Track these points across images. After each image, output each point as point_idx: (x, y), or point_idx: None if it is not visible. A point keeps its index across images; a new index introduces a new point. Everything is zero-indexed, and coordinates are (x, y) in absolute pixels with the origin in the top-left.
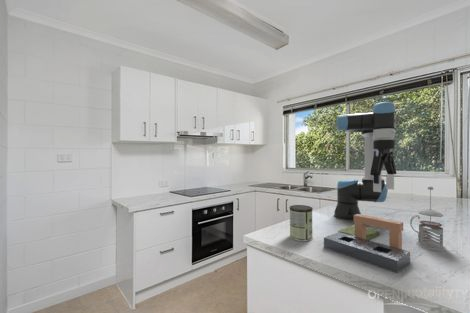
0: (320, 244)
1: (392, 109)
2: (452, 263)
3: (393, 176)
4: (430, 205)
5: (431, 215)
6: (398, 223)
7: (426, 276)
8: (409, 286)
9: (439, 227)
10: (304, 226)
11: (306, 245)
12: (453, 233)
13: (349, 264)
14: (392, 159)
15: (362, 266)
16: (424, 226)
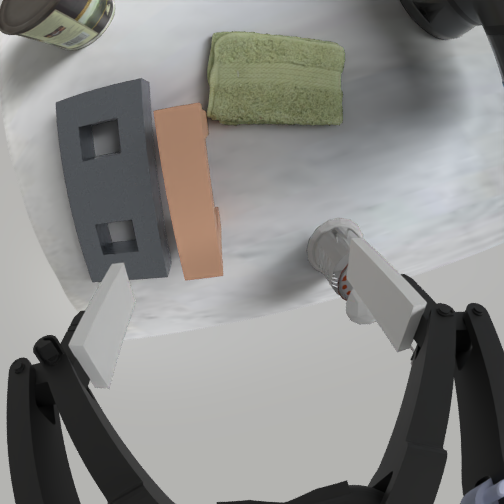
0: (79, 81)
1: None
2: (251, 304)
3: (392, 338)
4: None
5: (346, 311)
6: (188, 274)
7: (138, 298)
8: (81, 295)
9: None
10: (41, 41)
11: (47, 76)
12: (458, 244)
13: (49, 202)
14: (463, 463)
15: (64, 220)
16: None
